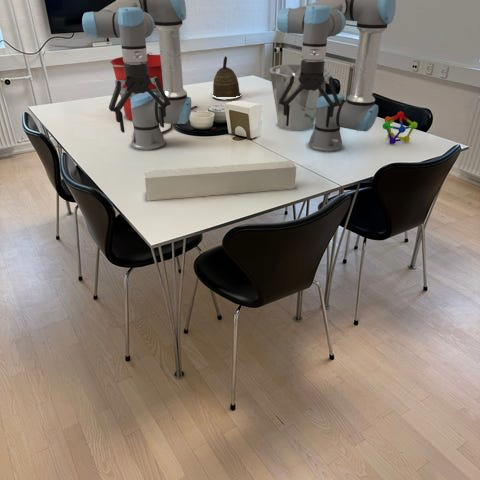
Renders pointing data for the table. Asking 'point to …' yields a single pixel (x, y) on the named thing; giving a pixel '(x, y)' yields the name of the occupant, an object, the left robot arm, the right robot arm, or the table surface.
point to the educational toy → (398, 128)
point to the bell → (225, 82)
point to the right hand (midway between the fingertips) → (307, 125)
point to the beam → (219, 180)
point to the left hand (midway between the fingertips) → (142, 129)
